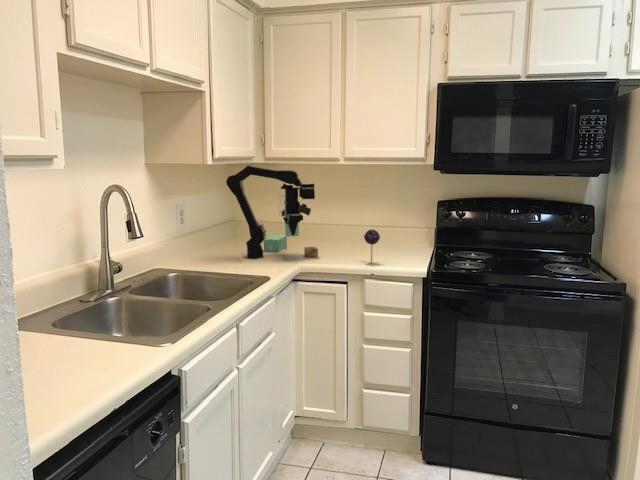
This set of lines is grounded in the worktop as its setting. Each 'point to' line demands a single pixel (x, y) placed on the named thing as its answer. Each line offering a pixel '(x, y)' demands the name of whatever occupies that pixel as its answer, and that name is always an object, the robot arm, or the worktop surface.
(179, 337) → the worktop surface
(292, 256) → the board
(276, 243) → the box
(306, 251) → the walnut base
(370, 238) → the lollipop
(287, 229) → the teal block
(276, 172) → the robot arm
